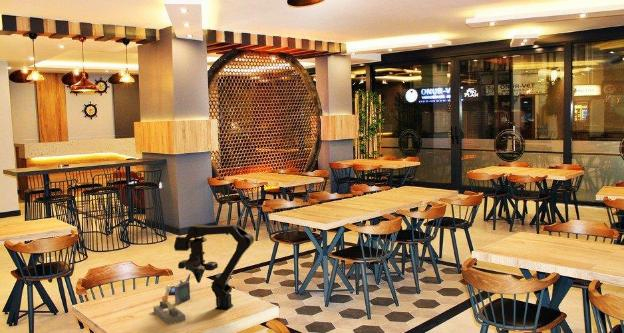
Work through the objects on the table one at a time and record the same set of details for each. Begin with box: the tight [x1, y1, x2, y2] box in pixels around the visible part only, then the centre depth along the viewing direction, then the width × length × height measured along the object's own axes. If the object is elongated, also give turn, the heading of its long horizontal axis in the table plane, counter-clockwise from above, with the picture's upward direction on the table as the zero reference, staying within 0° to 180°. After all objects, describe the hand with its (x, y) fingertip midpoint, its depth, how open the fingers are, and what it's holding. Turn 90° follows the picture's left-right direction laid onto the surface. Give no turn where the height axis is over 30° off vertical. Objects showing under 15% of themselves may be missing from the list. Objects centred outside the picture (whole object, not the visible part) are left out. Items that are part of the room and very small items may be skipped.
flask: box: [173, 279, 191, 305], centre depth 276 cm, size 9×3×11 cm, turn 146°
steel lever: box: [162, 284, 172, 304], centre depth 262 cm, size 3×3×10 cm
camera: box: [168, 273, 191, 296], centre depth 293 cm, size 12×11×7 cm
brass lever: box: [161, 295, 174, 313], centre depth 250 cm, size 3×3×10 cm
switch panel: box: [152, 300, 186, 325], centre depth 257 cm, size 20×8×5 cm, turn 34°
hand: (198, 282), depth 266 cm, fingers closed
